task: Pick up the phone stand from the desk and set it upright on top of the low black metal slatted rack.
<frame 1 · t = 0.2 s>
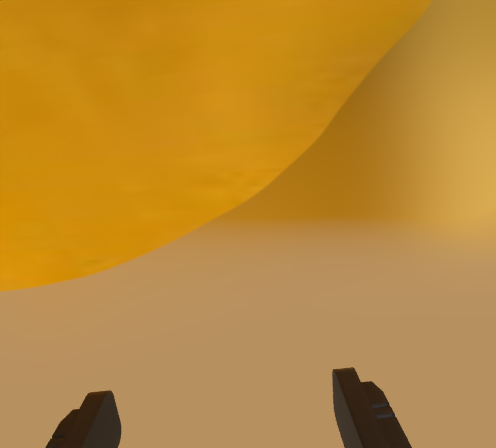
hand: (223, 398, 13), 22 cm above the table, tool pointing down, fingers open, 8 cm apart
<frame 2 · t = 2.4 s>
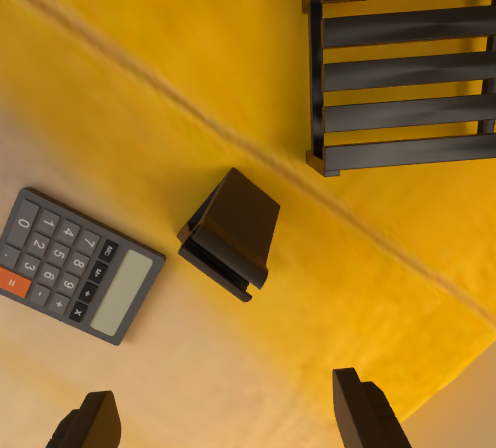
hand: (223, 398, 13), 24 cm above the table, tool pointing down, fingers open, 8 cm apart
rack: (392, 79, 33), on the table
calculator: (77, 268, 37), on the table
phone stand: (227, 219, 36), on the table
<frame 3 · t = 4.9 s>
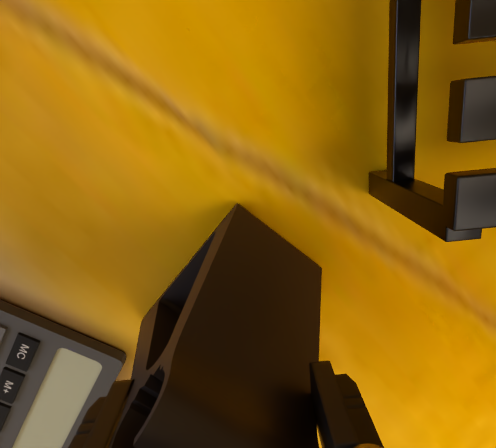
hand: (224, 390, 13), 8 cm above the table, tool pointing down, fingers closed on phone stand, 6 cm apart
phone stand: (230, 290, 21), on the table, touching gripper
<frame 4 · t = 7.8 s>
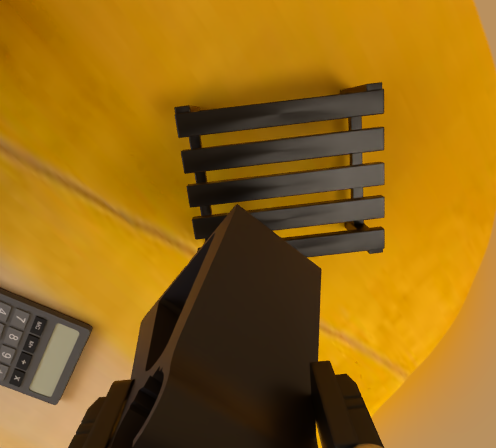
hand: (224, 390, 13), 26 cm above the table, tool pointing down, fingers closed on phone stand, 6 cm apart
rack: (276, 170, 37), on the table
calculator: (14, 339, 42), on the table
phone stand: (229, 291, 21), point 18 cm above the table, touching gripper
when the fingers open (16 cm above the table, at t = 11.2 s): phone stand stays where it is, resting on rack.
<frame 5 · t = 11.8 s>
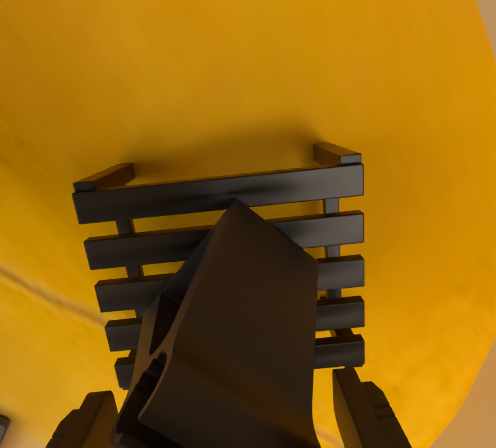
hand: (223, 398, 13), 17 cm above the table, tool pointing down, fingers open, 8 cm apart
rack: (232, 240, 29), on the table
phone stand: (229, 283, 22), point 8 cm above the table, touching rack
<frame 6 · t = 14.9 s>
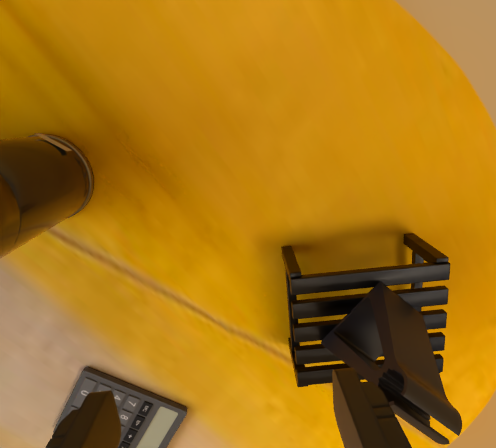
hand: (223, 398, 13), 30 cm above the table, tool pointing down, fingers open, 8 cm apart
rack: (348, 292, 46), on the table
calculator: (121, 417, 51), on the table
phone stand: (369, 326, 38), point 8 cm above the table, touching rack
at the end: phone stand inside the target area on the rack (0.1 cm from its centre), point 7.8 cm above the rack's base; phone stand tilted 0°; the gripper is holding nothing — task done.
